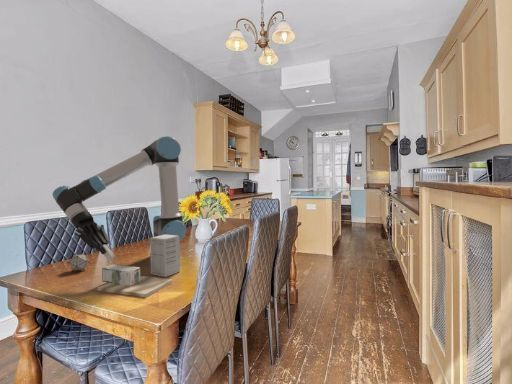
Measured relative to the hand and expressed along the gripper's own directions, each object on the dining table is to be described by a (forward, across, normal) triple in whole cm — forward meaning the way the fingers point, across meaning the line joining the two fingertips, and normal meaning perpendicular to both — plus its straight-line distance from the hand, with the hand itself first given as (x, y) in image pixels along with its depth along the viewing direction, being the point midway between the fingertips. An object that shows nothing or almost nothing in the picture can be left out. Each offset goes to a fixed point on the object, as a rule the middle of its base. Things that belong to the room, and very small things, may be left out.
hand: (111, 258), depth 112 cm
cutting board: (+16, 0, +2) cm, 16 cm away
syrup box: (+3, 0, -6) cm, 7 cm away
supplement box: (+17, -18, +2) cm, 24 cm away
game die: (-12, -8, -27) cm, 31 cm away
